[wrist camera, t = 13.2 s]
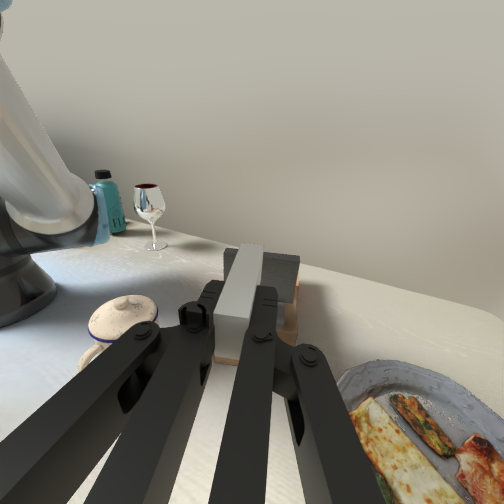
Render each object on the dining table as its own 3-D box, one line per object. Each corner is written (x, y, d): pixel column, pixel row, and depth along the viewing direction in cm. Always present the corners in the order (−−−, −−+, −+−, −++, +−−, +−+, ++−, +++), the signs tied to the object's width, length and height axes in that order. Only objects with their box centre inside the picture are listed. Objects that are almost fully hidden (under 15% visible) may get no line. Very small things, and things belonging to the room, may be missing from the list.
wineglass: (172, 240, 76) (166, 183, 68) (165, 252, 69) (157, 190, 61) (146, 239, 76) (136, 182, 67) (136, 251, 69) (124, 189, 60)
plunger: (290, 316, 35) (299, 261, 30) (223, 307, 36) (223, 252, 31) (290, 279, 43) (297, 232, 39) (236, 273, 44) (237, 226, 40)
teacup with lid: (137, 327, 44) (124, 275, 38) (176, 346, 41) (168, 291, 35) (70, 383, 34) (40, 323, 29) (114, 413, 31) (90, 352, 26)
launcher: (289, 374, 37) (298, 325, 32) (214, 362, 38) (212, 313, 33) (289, 312, 50) (296, 270, 45) (232, 305, 51) (233, 262, 46)
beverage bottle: (115, 238, 75) (99, 173, 66) (101, 234, 78) (83, 170, 68) (132, 231, 81) (119, 170, 71) (118, 227, 83) (104, 167, 73)
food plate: (661, 575, 22) (694, 564, 20) (500, 785, 14) (533, 794, 13) (412, 354, 42) (419, 340, 41) (297, 395, 35) (300, 380, 34)
